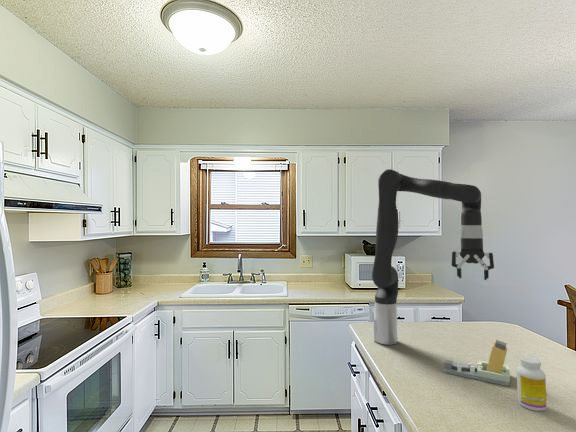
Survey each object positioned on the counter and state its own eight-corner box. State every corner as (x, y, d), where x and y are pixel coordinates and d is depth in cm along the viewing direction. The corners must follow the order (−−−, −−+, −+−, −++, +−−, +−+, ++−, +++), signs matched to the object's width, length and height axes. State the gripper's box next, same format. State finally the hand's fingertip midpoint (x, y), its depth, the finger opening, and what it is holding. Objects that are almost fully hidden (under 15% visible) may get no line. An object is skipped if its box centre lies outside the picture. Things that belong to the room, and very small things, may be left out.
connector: (486, 371, 111) (493, 342, 110) (487, 367, 114) (494, 338, 113) (500, 377, 109) (508, 347, 108) (500, 372, 112) (508, 343, 111)
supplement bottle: (551, 413, 90) (550, 365, 91) (524, 410, 92) (523, 363, 92) (538, 400, 97) (537, 355, 97) (513, 398, 98) (512, 354, 98)
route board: (443, 372, 116) (443, 363, 116) (447, 363, 123) (447, 354, 123) (510, 386, 105) (509, 376, 105) (509, 375, 113) (509, 365, 113)
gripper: (450, 237, 130) (451, 278, 130) (492, 237, 122) (494, 282, 122) (452, 236, 136) (453, 276, 136) (493, 236, 128) (494, 279, 128)
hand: (472, 278), depth 129 cm, fingers open, 8 cm apart
